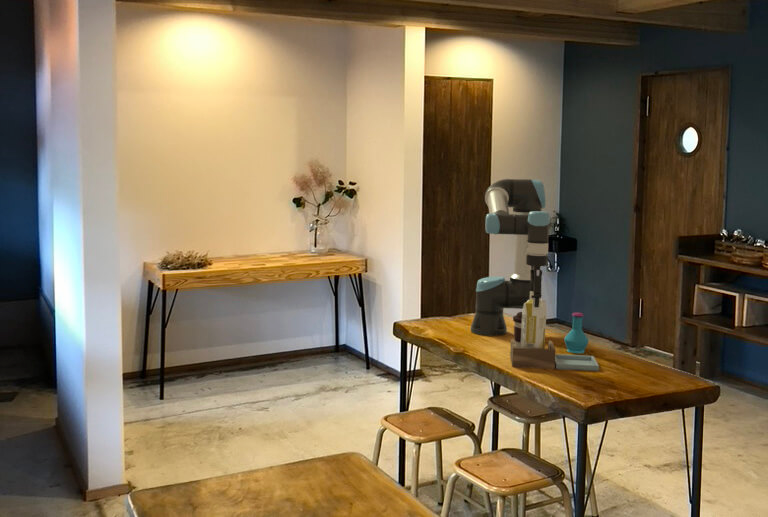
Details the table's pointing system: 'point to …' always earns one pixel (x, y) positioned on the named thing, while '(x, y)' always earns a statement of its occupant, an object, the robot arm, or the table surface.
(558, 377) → the table surface
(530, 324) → the juice carton
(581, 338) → the perfume bottle
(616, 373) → the table surface
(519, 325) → the coffee cup
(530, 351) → the bay
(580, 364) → the tray
